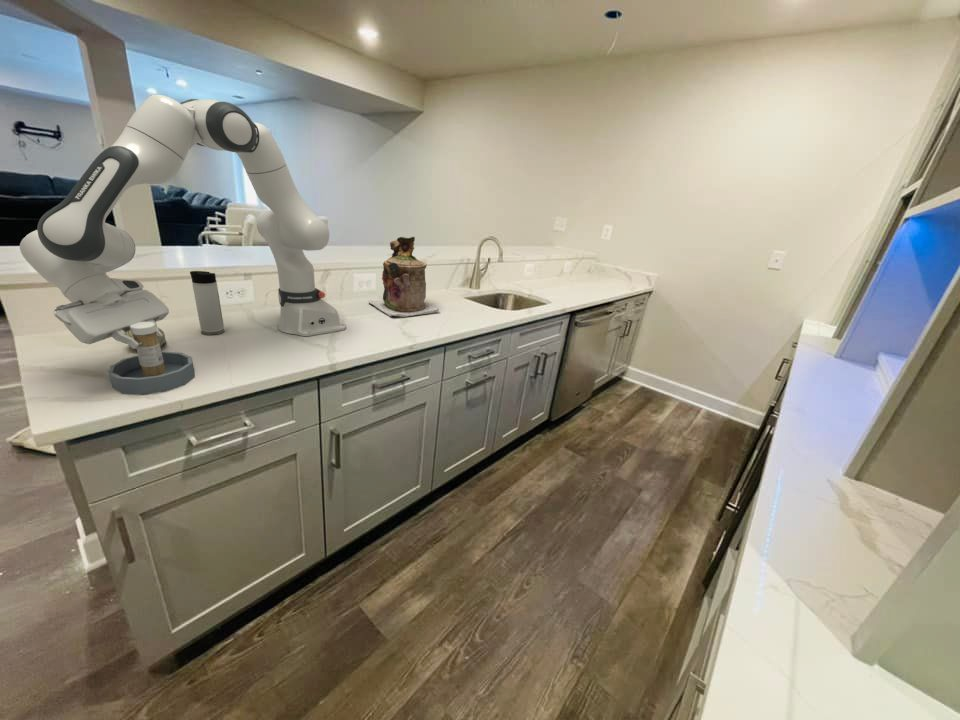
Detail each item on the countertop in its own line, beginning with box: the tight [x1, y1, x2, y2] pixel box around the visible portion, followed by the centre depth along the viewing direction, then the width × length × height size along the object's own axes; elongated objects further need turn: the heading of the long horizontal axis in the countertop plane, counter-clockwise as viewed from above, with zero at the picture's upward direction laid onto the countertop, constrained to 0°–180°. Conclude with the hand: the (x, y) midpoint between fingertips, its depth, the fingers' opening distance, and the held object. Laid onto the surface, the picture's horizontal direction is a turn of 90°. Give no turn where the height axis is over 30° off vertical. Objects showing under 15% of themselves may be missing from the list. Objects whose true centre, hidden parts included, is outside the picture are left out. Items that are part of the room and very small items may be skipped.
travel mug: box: [189, 270, 225, 336], centre depth 121 cm, size 6×7×20 cm
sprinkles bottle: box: [130, 322, 166, 377], centre depth 92 cm, size 5×5×13 cm
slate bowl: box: [107, 351, 196, 396], centre depth 94 cm, size 16×16×4 cm
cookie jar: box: [368, 236, 441, 318], centre depth 166 cm, size 25×25×32 cm
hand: (149, 342), depth 91 cm, fingers closed on sprinkles bottle, 4 cm apart
